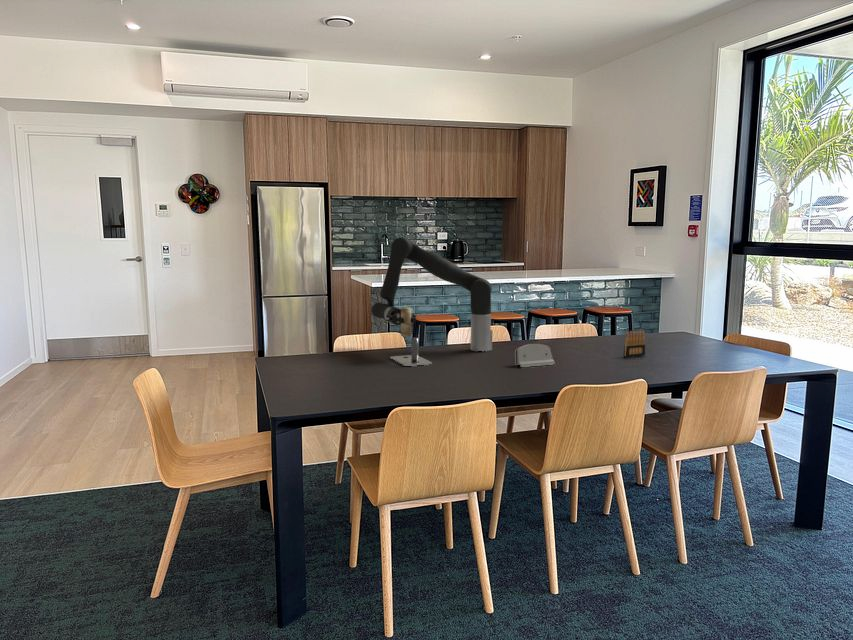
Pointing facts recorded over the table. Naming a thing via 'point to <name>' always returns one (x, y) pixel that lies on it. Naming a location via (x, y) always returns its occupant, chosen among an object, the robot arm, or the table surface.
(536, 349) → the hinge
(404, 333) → the oak post
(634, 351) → the ammunition clip
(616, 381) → the table surface
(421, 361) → the bolt plate
